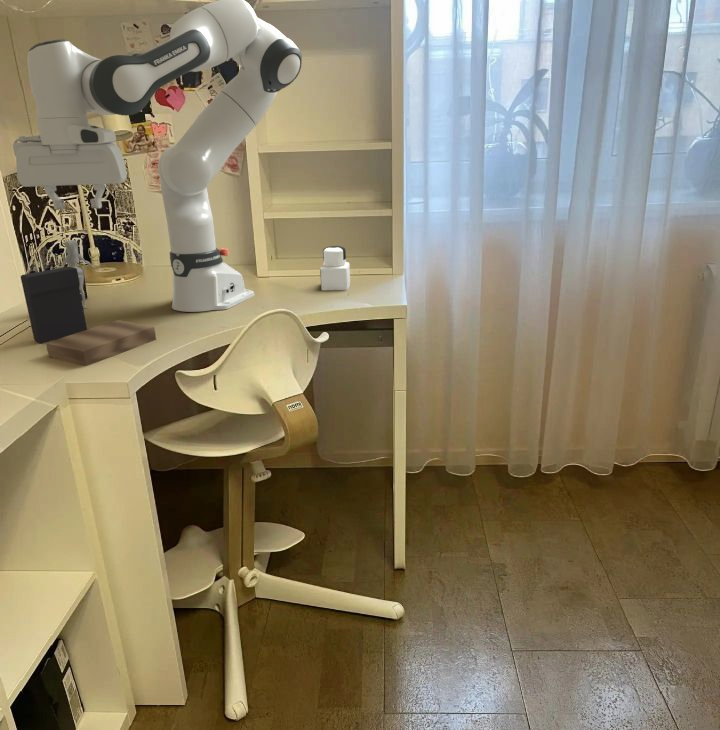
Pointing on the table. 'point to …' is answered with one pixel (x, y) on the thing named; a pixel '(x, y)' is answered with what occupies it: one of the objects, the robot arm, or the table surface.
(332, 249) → the medicine bottle
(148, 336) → the walnut plinth
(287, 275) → the table surface
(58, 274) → the black upright rectangular block
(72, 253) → the human figurine
